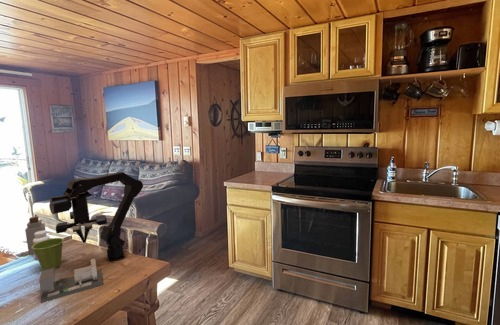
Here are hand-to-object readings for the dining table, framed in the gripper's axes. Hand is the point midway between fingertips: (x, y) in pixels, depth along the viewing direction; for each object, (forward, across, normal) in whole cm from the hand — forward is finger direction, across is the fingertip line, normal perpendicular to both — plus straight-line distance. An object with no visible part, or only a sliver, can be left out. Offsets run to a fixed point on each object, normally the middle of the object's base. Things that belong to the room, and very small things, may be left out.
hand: (84, 242), depth 123 cm
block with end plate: (+11, +1, +13) cm, 17 cm away
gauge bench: (+12, +5, +13) cm, 18 cm away
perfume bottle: (+12, +21, -36) cm, 44 cm away
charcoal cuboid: (+10, +9, +18) cm, 22 cm away
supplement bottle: (+12, +18, -26) cm, 34 cm away
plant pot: (+12, +14, -12) cm, 22 cm away
